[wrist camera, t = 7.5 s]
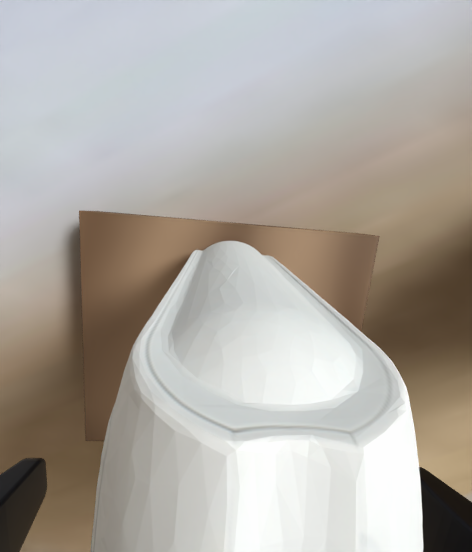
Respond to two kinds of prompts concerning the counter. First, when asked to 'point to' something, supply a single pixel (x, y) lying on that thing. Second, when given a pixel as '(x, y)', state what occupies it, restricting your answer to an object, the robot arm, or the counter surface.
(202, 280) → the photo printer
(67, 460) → the counter surface
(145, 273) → the walnut stand
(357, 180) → the counter surface
